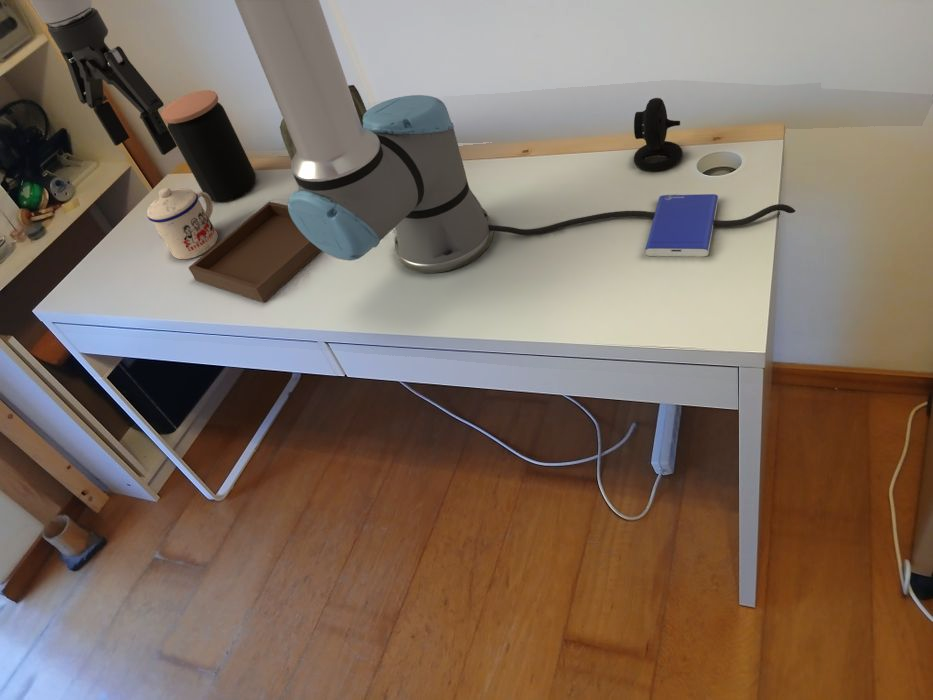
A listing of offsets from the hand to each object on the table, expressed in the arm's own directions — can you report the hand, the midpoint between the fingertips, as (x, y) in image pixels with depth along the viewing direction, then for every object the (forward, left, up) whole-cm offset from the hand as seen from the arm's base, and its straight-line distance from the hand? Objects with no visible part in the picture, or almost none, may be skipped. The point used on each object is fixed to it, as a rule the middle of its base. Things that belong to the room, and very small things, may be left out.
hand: (145, 146), depth 125 cm
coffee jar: (+8, -15, -19) cm, 26 cm away
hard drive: (-80, -26, -19) cm, 87 cm away
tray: (-18, -1, -19) cm, 27 cm away
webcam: (-69, -42, -19) cm, 83 cm away
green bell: (-19, -21, -19) cm, 34 cm away
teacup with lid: (0, 0, -19) cm, 19 cm away
